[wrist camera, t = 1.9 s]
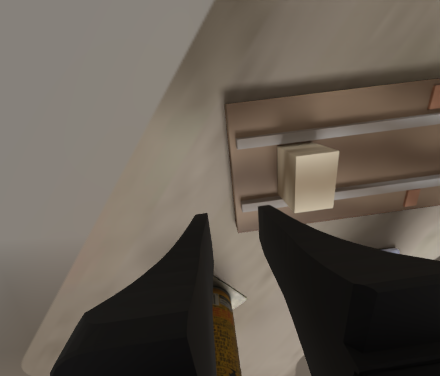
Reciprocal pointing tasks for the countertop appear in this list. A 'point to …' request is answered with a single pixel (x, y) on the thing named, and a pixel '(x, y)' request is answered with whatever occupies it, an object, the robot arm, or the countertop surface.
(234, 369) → the condiment
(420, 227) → the countertop surface
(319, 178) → the fader tab
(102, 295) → the countertop surface
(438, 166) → the console
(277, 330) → the countertop surface
